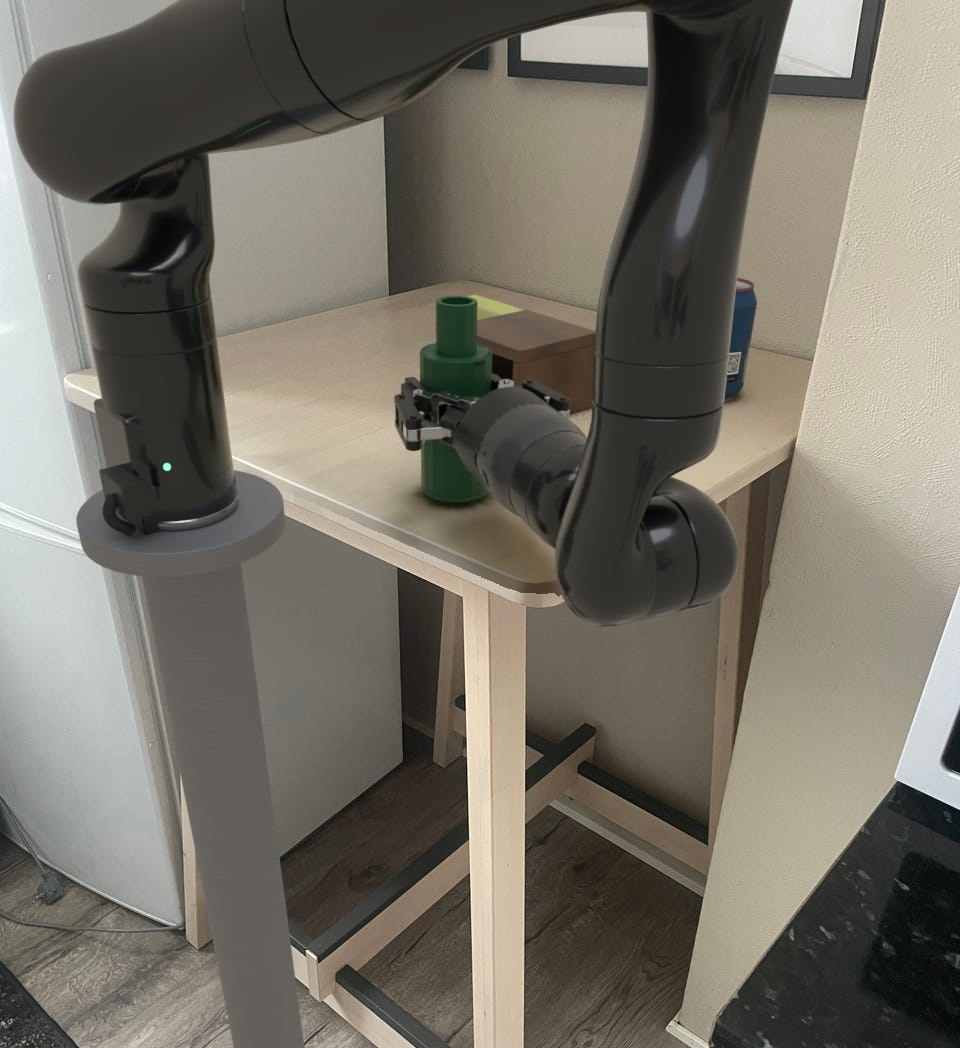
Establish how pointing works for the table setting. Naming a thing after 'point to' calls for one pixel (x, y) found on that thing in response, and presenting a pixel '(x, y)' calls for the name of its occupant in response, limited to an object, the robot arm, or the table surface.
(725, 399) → the soda can
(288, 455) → the table surface
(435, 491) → the bottle
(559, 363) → the shelf
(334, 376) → the table surface
